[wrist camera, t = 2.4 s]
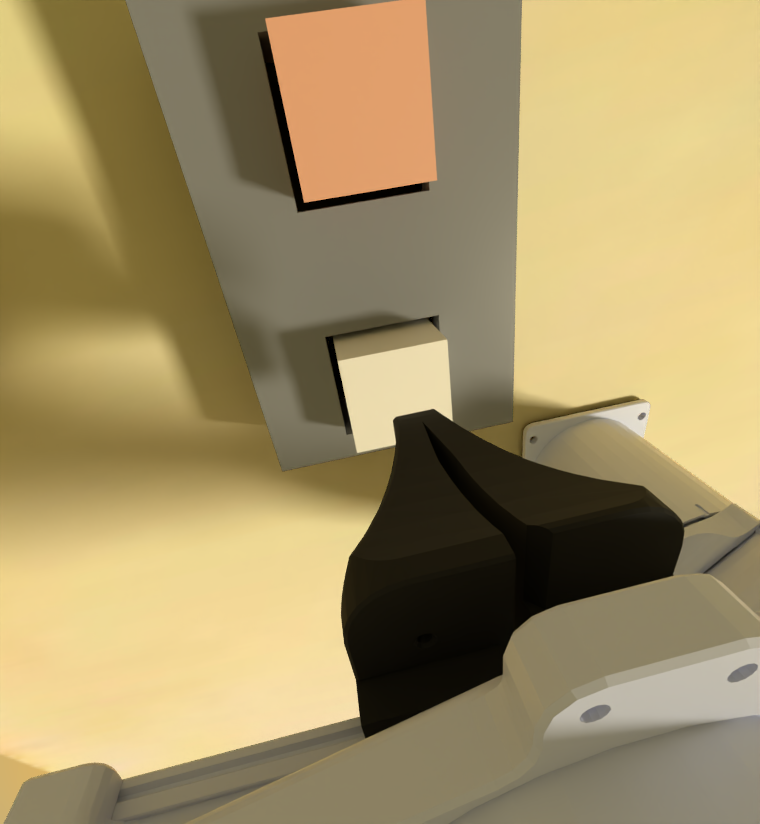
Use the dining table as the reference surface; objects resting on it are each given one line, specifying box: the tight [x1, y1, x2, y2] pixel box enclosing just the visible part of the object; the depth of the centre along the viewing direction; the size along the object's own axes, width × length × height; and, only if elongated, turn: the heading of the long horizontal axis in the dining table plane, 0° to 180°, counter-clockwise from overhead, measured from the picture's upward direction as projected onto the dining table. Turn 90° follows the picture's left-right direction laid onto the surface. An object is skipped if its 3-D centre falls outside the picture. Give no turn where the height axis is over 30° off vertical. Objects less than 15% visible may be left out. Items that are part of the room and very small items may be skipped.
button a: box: [333, 318, 453, 453], centre depth 17 cm, size 4×4×4 cm
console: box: [125, 0, 522, 471], centre depth 17 cm, size 16×11×4 cm
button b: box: [265, 0, 437, 203], centre depth 12 cm, size 4×4×4 cm
